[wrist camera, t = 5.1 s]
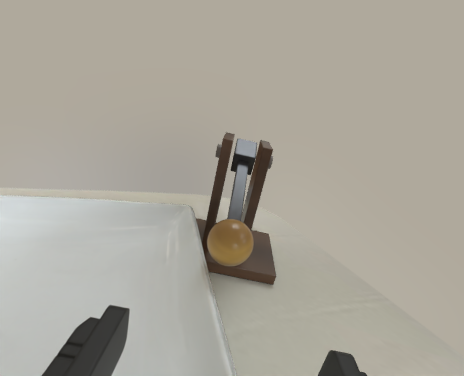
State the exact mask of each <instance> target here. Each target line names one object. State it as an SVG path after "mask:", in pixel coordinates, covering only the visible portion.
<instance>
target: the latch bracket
mask: <svg viewBox="0 0 464 376" xmlns="http://www.w3.org/2000/svg"><path fill="white" fill-rule="evenodd" d="M233 140H234V134H231V133H226V134H225V136H224V138H223V142H222V145H219V144H218V146H217V151H216V157H218V158H219V161H218V166H217V171H216V176H215V181H214V186H213V191H212V196H211V201H210V206H209V211H208V216H207V221H206V220H201V219H196V221H197V226H198V230H199V234H200V239H201V243H202V247H203V251H204V255H205V260H206V264H207V268H208V271H210V272H214V273H219V274H224V275H229V276H234V277H238V278H243V279H248V280H253V281H258V282H262V283H267V284H272V285H273V284H274V281H275V278H276V273H275V267H274V262H273V256H272V250H271V244H270V239H269V234H267V233H262V232H257V231H253V230H251V229H252V225H253V221H254V218H255V214H256V210H257V207H258V203H259V199H260V196H261V192H262V188H263V184H264V181H265V177H266V173H267V170H268V169H270V168H271V165H272V161H273V156H271V155H272V151H273V149H272V147H271V146H270V143H269V142H266V141H262V140H261V141H260V144H259V148H258V152H257V156H256V160H255V164H254V169H253V172H252V176H251V180H250V185H249V188H248V192H247V196H246V200H245V204H244V208H243V212H242V217H241V222H243V223H244V224H245V225H246V226H247V227H248V228H249V229H250V231H251V233H252V235H253V241H254V245H253V250H252V252H251V254H250V256H249V257H248V259H247V260H246V261H244V262H243V263H241V264H239V265H237V266H224V265H221V264H219V263H218V262H216V261H215V260H214V259H213V258H212V256H211V255H210V253H209V250H208V246H207V239H208V235H209V232H210V231H211V229H212V228H213V227H214V226H215V225H216V224H217V223H216V218H217V214H218V209H219V205H220V200H221V195H222V191H223V186H224V181H225V177H226V172H227V168H228V163H229V158H230V153H231V149H232V144H233Z"/></svg>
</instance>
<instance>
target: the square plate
mask: <svg viewBox="0 0 464 376" xmlns="http://www.w3.org/2000/svg"><path fill="white" fill-rule="evenodd" d="M109 305H114V306H119V307H124V308H129V309H130V314H129V323H128V333H127V339H126V343H125V347H124V349H123V352H122V354H121V357H120V359H119V361H118V363H117V365H116V367H115V369H114V371H113V374H112V376H237V374H236V370H235V367H234V363H233V360H232V356H231V353H230V349H229V345H228V342H227V338H226V335H225V331H224V327H223V324H222V320H221V317H220V313H219V309H218V306H217V302H216V299H215V295H214V291H213V287H212V283H211V279H210V276H209V272H208V268H207V264H206V260H205V255H204V251H203V247H202V243H201V239H200V234H199V230H198V226H197V221H196V218H195V214H194V211H193V208H192V207H190V206H189V205H184V204H167V203H150V202H135V201H119V200H103V199H86V198H65V197H45V196H16V195H0V376H42V374H43V373H44V372H45V370H46V369H47V367H48V366H49V365H50V363H51V362H52V361H53V359H54V358H55V356H57V355H58V352H59V351H60V349H61V348H62V347H63V345H64V344H66V341H67V340H68V338H69V337H70V336H71V334H72V333H73V331H74V330H75V329H76V327H78V326H79V325H80V324H82V323H83V322H84V321H86V320H87V319H88V318H90V317H93V318H98V319H100V318H101V316H102V315H103V313H104V312H105V310H106V309H107V307H108V306H109Z"/></svg>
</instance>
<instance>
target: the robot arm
mask: <svg viewBox="0 0 464 376" xmlns="http://www.w3.org/2000/svg"><path fill="white" fill-rule="evenodd" d="M129 314H130V309H129V308H124V307H119V306H114V305H109V306H108V307H107V309H106V310H105V312H104V313H103V315H102V316H101V318H100V319H98V318H93V317H90V318H88V319H87V320H86V321H84V322H83V323H82V324H80V325H79V326H78V327H76V329H75V330H74V331H73V333H72V334H71V336H70V337H69V338H68V340H67V341H66V344H64V345H63V347H62V348H61V349H60V351H59V352H58V355H57V356H55V358H54V359H53V361H52V362H51V363H50V365H49V366H48V367H47V369H46V370H45V372H44V373H43V374H42V376H112V374H113V371H114V369H115V367H116V365H117V363H118V361H119V359H120V357H121V354H122V352H123V349H124V347H125V343H126V339H127V333H128V323H129ZM318 376H367V375H366V373H364V372H360V371H359V369H358V366H357V364H356V362H355V359H354V357H353V356H352V355H351V354H348V353H343V352H338V351H333V350H331V351H329V353H328V355H327V357H326V359H325V361H324V363H323V366H322V368H321V370H320V372H319V374H318Z"/></svg>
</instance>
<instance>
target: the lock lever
mask: <svg viewBox="0 0 464 376" xmlns="http://www.w3.org/2000/svg"><path fill="white" fill-rule="evenodd" d="M256 149H257V143H255V142H251V141H247V140H242V139H237V143H236V148H235V152H234V156H233V162H232V166H231V171H234V172H236V174H235V180H234V185H233V190H232V197H231V201H230V207H229V212H228V218H227V219H226V220H222V221H220V222H218V223H217V224H216V225H215V226H214V227H213V228H212V229H211V231H210V232H209V235H208V239H207V246H208V250H209V253H210V255H211V256H212V258H213V259H214V260H215V261H216V262H218V263H219V264H221V265H224V266H237V265H239V264H241V263H243V262H244V261H246V260H247V259H248V257H249V256H250V254H251V252H252V250H253V245H254V241H253V235H252V233H251V231H250V229H249V228H248V227H247V226H246V225H245V224H244V223H243V222H241V217H242V210H243V202H244V195H245V187H246V180H247V174H248V175H251V172H252V169H253V165H254V162H255V159H256Z"/></svg>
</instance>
